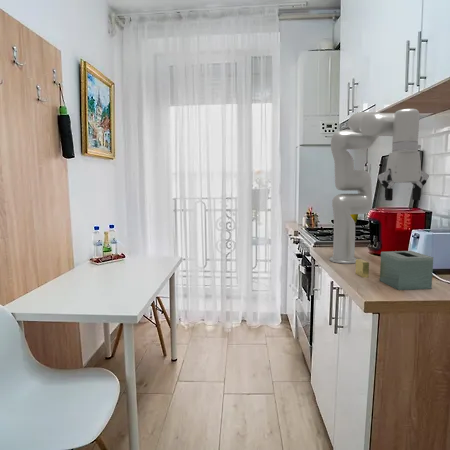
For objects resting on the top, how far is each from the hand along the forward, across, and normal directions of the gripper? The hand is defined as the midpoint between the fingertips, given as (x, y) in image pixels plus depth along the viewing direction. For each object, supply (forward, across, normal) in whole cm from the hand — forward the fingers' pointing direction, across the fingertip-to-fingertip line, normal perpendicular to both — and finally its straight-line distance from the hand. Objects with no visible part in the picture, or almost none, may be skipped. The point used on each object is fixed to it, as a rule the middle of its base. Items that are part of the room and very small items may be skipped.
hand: (402, 200), depth 117 cm
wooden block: (+31, +4, -19) cm, 36 cm away
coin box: (+31, -5, -5) cm, 31 cm away
